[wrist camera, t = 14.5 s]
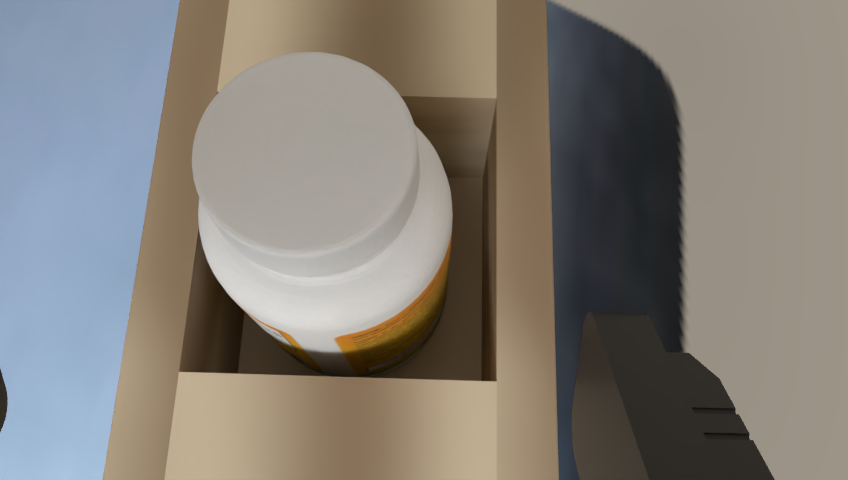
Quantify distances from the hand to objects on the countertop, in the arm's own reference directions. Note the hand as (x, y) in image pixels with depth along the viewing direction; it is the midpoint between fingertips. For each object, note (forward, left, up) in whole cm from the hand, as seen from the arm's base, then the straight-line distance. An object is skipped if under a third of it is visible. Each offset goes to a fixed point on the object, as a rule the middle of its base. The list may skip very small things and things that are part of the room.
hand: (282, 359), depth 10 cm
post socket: (0, +4, -12) cm, 13 cm away
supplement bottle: (0, +4, -12) cm, 12 cm away
